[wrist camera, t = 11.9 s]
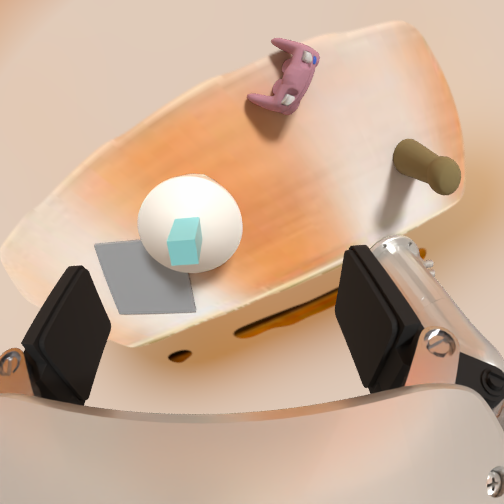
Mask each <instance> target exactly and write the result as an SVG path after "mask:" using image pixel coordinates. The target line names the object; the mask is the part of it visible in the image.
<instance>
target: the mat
mask: <svg viewBox="0 0 504 504" xmlns="http://www.w3.org/2000/svg"><path fill="white" fill-rule="evenodd" d="M94 247H95V250H96V253H97V256H98V259H99V262H100V265H101V267H102V270H103V273H104V276H105V278H106V281H107V284H108V286H109V289H110V292H111V294H112V297H113V299H114V302H115V304H116V306H117V309H118V311H119V314H156V313H183V312H196V307H195V302H194V298H193V293H192V288H191V283H190V278H189V273H184V272H179V271H175V270H172V269H170V268H168V267H165V266H164V265H162V264H160V263H159V262H158V261H156V260H155V259H154V258H153V257H152V256H151V255H150V254H149V253H148V252H147V250H146V249H145V247H144V246H143V244H142V241H141V240H131V241H120V242H110V243H100V244H95V245H94Z"/></svg>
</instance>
